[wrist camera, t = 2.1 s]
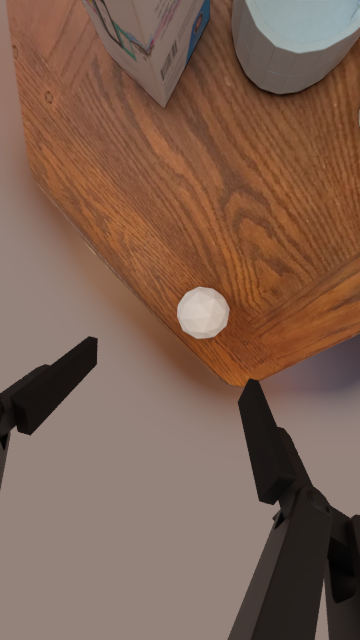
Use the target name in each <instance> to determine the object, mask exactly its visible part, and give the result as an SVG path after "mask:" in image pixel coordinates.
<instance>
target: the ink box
mask: <svg viewBox="0 0 360 640" xmlns="http://www.w3.org/2000/svg"><path fill="white" fill-rule="evenodd" d="M81 1H82V3H83V5H84V7H85V9H86V11H87V13H88V15H89V17H90V18H91V20H92V22H93V24H94V26H95V28H96V31H97V33H98V35H99V36H100V38H101V40H102V42H103V44H104V46H105V48H106V50H107V52H108V54H109V55H110V56H111V57H112V58H113V59H114V60H115V61H116V62H117V63H118V65H119V66H120V67H121V68H122V69H123V70H124V71H125V72H126V73H127V74H128V75H129V76H130V77H131V78H132V79H133V80H135V81H136V82H137V83H138V84H139V85H140V86H141V87H142V88H143V89H144V90H145V91H146V92H147V93H148V94H149V95H150V96H151V97H152V98H153V99H154V100H155V101H156V102H157V103H158V104H159V105H160V106H161V107H163V108H165V106H166V104H167V102H168V100H169V98H170V96H171V94H172V92H173V90H174V88H175V86H176V84H177V82H178V80H179V78H180V76H181V74H182V72H183V70H184V68H185V66H186V64H187V62H188V60H189V58H190V56H191V54H192V52H193V50H194V48H195V46H196V44H197V42H198V40H199V38H200V36H201V34H202V32H203V30H204V28H205V26H206V24H207V22H208V20H209V18H210V0H81Z"/></svg>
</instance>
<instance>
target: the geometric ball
mask: <svg viewBox="0 0 360 640" xmlns="http://www.w3.org/2000/svg"><path fill="white" fill-rule="evenodd" d="M229 310H230V309H229V307H228V305H227V302H226V300H225V298H224V297H223V296H222V295H221V294H219V293H218V292H217V291H216V290H214V289H212V288H205V287H197V288H195V289H193V290H191V291H189V292H187V293H185V295H184V297H183V298H182V300H181V301H180V303H179V304H178V309H177V318H178V320H179V322H180V325H181V327H182V329H183V331H184V332H186V333H188V334H190V335H191V336H193V337H195V338H197V339H201V338H210V337H214V336H216V335H217V334H218V333H219V332H220V331H221V330H222V329H223V328H224V327H226V326H227V321H228V316H229Z"/></svg>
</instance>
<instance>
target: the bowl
mask: <svg viewBox="0 0 360 640" xmlns="http://www.w3.org/2000/svg"><path fill="white" fill-rule="evenodd" d="M231 28H232V34H233V40H234V46H235V52H236V55H237V57H238V59H239V61H240V63H241V66H242V68H243V70H244V72H245V74H246V75H247V76H248V77H249V78H250V79H251V80H252V81H253V82H254V83H255V84H256V85H257V86H258V87H259V88H261V89H264V90H267V91H270V92H273V93H276V94H285V93H293V92H299V91H301V90H303V89H305V88H307V87H309V86H311V85H313V84H314V83H316V82H318V81H320V80H322V79H323V78H324V77H325V76H326V75H327V74H328V73H329V72H330V71H331V70H332V69H333V68H335V67H336V66H337V65H338V64H339V63H340V62H341V61H342V60H343V59H344V57H345V56H346V54H347V53H348V52H349V50H350V49H351V48H352V46H353V45H354V44H355V42H356V41H357V40H358V38H359V37H360V0H232V15H231Z"/></svg>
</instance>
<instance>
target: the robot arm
mask: <svg viewBox="0 0 360 640" xmlns="http://www.w3.org/2000/svg"><path fill="white" fill-rule="evenodd" d="M97 340H98V339H97V338H94V337H90V336H89V337H87V338H86V339H85V340H84V341H82V342H81V343H80V344H78V345H77V346H76V347H74V348H73V349H72V350H70V351H69V352H68V353H66V354H65V355H64V356H62V357H61V358H60V359H58V360H57V361H56V362H55V363H53V364H52V365H51V366H50V365H46V364H45V365H42V366H40V367H37V368H36V369H34V370H33V371H31V372H30V373H28V375H26V376H24V377H23V378H22V379H20V380H18V381H17V382H16V383H14V384H13V385H11V386H10V387H9V388H7V389H6V390H5V391H3V392H2V393H0V489H1V483H2V478H3V472H4V467H5V462H6V456H7V450H8V446H9V440H10V430H11V429H13V428H14V427H15V426H17V430H18V432H20V433H24V434H28V435H31V434H32V433H33V432H34V431H35V430H36V429H37V428H38V427H39V426H40V425H41V424H42V423H43V421H44V420H45V419H46V418H47V417H48V416H49V415H50V414H51V413H52V412H53V411H54V410H55V408H57V406H58V405H59V404H60V403H61V402H62V401H63V400H64V399H65V398H66V397H67V396H68V395H69V393H70V392H71V391H72V390H73V389H74V388H75V387H76V386H77V385H78V384H79V383H80V382H81V381H82V380H83V378H84V377H85V376H86V375H87V374H88V373H89V372H90V371H91V370H92V369H93V368H94V367H95V366H96V364H97ZM238 405H239V410H240V415H241V419H242V424H243V429H244V433H245V438H246V442H247V447H248V451H249V456H250V461H251V466H252V470H253V475H254V480H255V484H256V489H257V494H258V498H259V501H261V502H264V503H267V504H271V505H274V504H275V503H276V501H277V500H278V501H279V504H280V508H281V509H280V510H279V511H278V513H277V514H276V515H275V516H274V517H273V520H274V521H275V522H274V524H273V527H272V529H271V532H270V534H269V537H268V539H267V542H266V544H265V547H264V549H263V552H262V554H261V557H260V559H259V562H258V565H257V567H256V569H255V572H254V574H253V577H252V580H251V582H250V585H249V587H248V590H247V592H246V595H245V597H244V600H243V602H242V605H241V607H240V610H239V612H238V615H237V617H236V620H235V622H234V625H233V627H232V630H231V633H230V635H229V637H228V640H315V632H316V626H317V620H318V613H319V607H320V600H321V593H322V587H323V580H324V582H325V595H326V607H327V620H328V632H329V640H360V515H354V516H353V517H352V518H349V517H348V516H346V515H345V514H343V513H341V512H340V511H338V510H337V509H335V508H333V507H332V506H331V505H330V504H329V503H328V501H327V499H326V498H325V497H324V495H323V494H322V493H321V492H320V491H319V490H318V489H316V488H315V487H313V485H312V483H311V481H310V478H309V476H308V474H307V472H306V470H305V467H304V465H303V463H302V461H301V459H300V456H299V455H298V452H297V450H296V448H295V446H294V443H293V441H292V439H291V437H290V435H289V434H288V433H287V432H286V431H285V429H284V428H280V427H277V425H276V423H275V421H274V418H273V416H272V413H271V410H270V408H269V406H268V403H267V401H266V398H265V396H264V393H263V391H262V388H261V386H260V384H259V381H257V380H254V379H250V378H249V380H248V382H247V384H246V386H245V388H244V391H243V393H242V394H241V397H240V399H239V401H238Z"/></svg>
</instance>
